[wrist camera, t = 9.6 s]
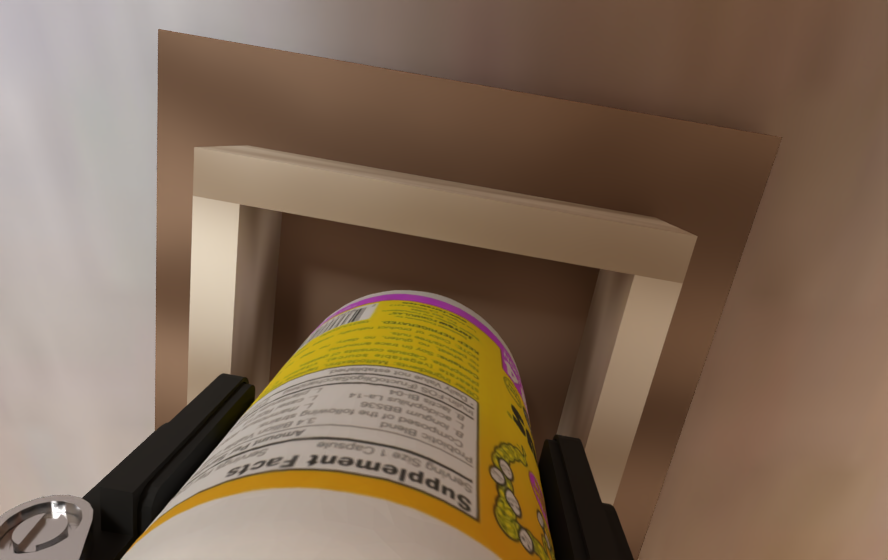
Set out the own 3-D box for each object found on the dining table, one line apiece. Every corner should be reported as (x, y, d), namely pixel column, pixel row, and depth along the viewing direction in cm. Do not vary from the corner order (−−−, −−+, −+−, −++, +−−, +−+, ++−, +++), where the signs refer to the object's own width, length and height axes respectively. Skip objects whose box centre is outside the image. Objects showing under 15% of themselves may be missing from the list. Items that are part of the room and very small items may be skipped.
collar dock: (178, 35, 15) (78, 2, 12) (762, 137, 15) (860, 137, 11) (169, 516, 20) (97, 603, 17) (609, 599, 20) (639, 708, 16)
